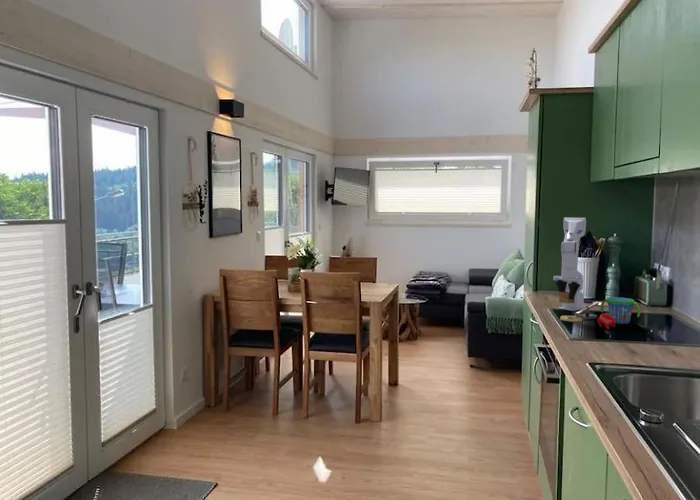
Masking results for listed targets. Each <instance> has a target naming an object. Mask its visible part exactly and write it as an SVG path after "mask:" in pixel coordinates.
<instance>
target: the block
mask: <svg viewBox="0 0 700 500" xmlns="http://www.w3.org/2000/svg"><path fill="white" fill-rule="evenodd" d="M569 293H570V292H568V291H564V292H560V293H559V292H558V294H559V295H558V296H559V297H558V298H559V299H558V303H561V304H563V303H567V304H568V303H574V299H575V297H574V299H570V297H569Z"/></svg>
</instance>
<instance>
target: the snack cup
mask: <svg viewBox="0 0 700 500" xmlns="http://www.w3.org/2000/svg"><path fill="white" fill-rule="evenodd" d="M601 302H602V304H601V307H600V312H601V313H602V314H604V307H603V304H604V303H605V302H607V303H608V307H607V308H608V314H609V315H611V316H612V317H613V318H614V319H615V324H619V325H625V324H626V325H627V324H629V323H630V321H631V316H632V311H633V307H634V305H635V306H636V308H637V314H636V317H637V318H639V317H640V316H641V307H640V305H639V303H638V302H636V301H635V300H634V299H632V298H627V297H617V296H616V297H615V296H614V297H612V296H611V297H608V298H607V297H606V299H604V300H602V301H601Z"/></svg>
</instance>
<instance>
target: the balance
mask: <svg viewBox="0 0 700 500" xmlns="http://www.w3.org/2000/svg"><path fill="white" fill-rule="evenodd" d="M602 302H603V301H593V302H591V304H590V305H586V306H585V307H583V308H584V309H582V310H578V311H577V312H575V314H576V315H575V316H574V315H561V316H560V318H559V319H560V321H563V322H568V323H582V322H583V320H592V319H593V320H594V319H598V315H597V314H592V313H590V309H592V308H593V307H600V308H601V304H602ZM603 308H608V303H607V301H605V303H604V304H603Z"/></svg>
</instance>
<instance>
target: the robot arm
mask: <svg viewBox="0 0 700 500" xmlns="http://www.w3.org/2000/svg"><path fill="white" fill-rule="evenodd" d="M562 225H563V226H562V227H563V233H564V238H563V241H561V245H560V251H561V273H560V274H561V275H553V279H552V280H553V281H555V285H556V287H557V289H558V294H559V293H560V292H564V291H568V292H570V293H569V297H570V299H574V297H575V299H574V303H568V304H567V303H562V306H559V307H558V309H560V310H566V311H569V312H570V311H571V312H574V311H580V310H582V309H584V308H585V307H584V302H585V301H584V299H585V298H584V297H585V296H584V292H582V291H583V288H584V276H583V274H582V273H581V272H580V271H579V270H578V263H579V261H578V260H579V251H580V250H579V249H580V248H579V247H580V240H581V238H582V237H584V236H585V234H586V226H587V218H586V217H566V216H565V217H563V224H562Z"/></svg>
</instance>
